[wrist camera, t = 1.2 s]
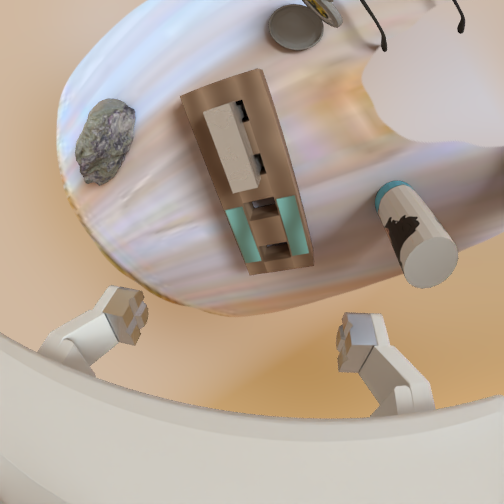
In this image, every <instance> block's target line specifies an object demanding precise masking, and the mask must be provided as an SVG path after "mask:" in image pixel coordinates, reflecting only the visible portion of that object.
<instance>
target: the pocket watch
mask: <svg viewBox="0 0 504 504" xmlns="http://www.w3.org/2000/svg"><path fill="white" fill-rule="evenodd" d="M302 1H303V2H304V3H305V4H306V5H307V7H306V6H303V5H297V4H291V5H286V6H283V7H281V8H279V9H277V10H276V11H275V12H274V13H273V14H272V16H271V18H270V20H269V31H270V34H271V36H272V37H273V39H274V40H275V41H276V42H277V43H278V44H280V45H281V46H283V47H285V48H288V49H292V50H304V49H308V48H310V47H313V46H314V45H316V44H317V43H318V42H319V41H320V39H321V37H322V36H323V28H324V26H323V22H322V20H323V21H324V22H325V23H327V24H328V25H330V26H333V27H336V28H338V27H339V26H340V25H341V24H342V23H343V20H342V17H341V15H340V14H339V12H338V10H337V9H336V8H335V7H334V5H333V4H332V3H331V2H333V0H302Z"/></svg>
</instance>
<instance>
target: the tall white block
mask: <svg viewBox="0 0 504 504" xmlns="http://www.w3.org/2000/svg"><path fill="white" fill-rule="evenodd" d="M203 114H204V117H205V120H206V122H207V125H208V128H209V130H210V133H211V136H212V138H213V141H214V144H215V146H216V149H217V152H218V155H219V157H220V160H221V163H222V165H223V168H224V171H225V173H226V176H227V179H228V181H229V184H230V187H231V190H232V192H233V193H237V192H241V191H245V190H250V189H254V188H258V186H259V183H260V180H261V176H260V171H261V168H262V166H263V161H262V158H261V155H260V153H258V154H255V155H253V152H252V149H251V146H250V143H249V140H248V137H247V134H246V131H245V128H244V125H243V122H242V118H244V117H245V116H246V115H247V112H246V109H245V106H244V104H239V105H236V102H235V101H233V102H230V103H227V104H224V105H221V106H218V107H215V108H212V109H210V110H207V111H204V112H203Z"/></svg>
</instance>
